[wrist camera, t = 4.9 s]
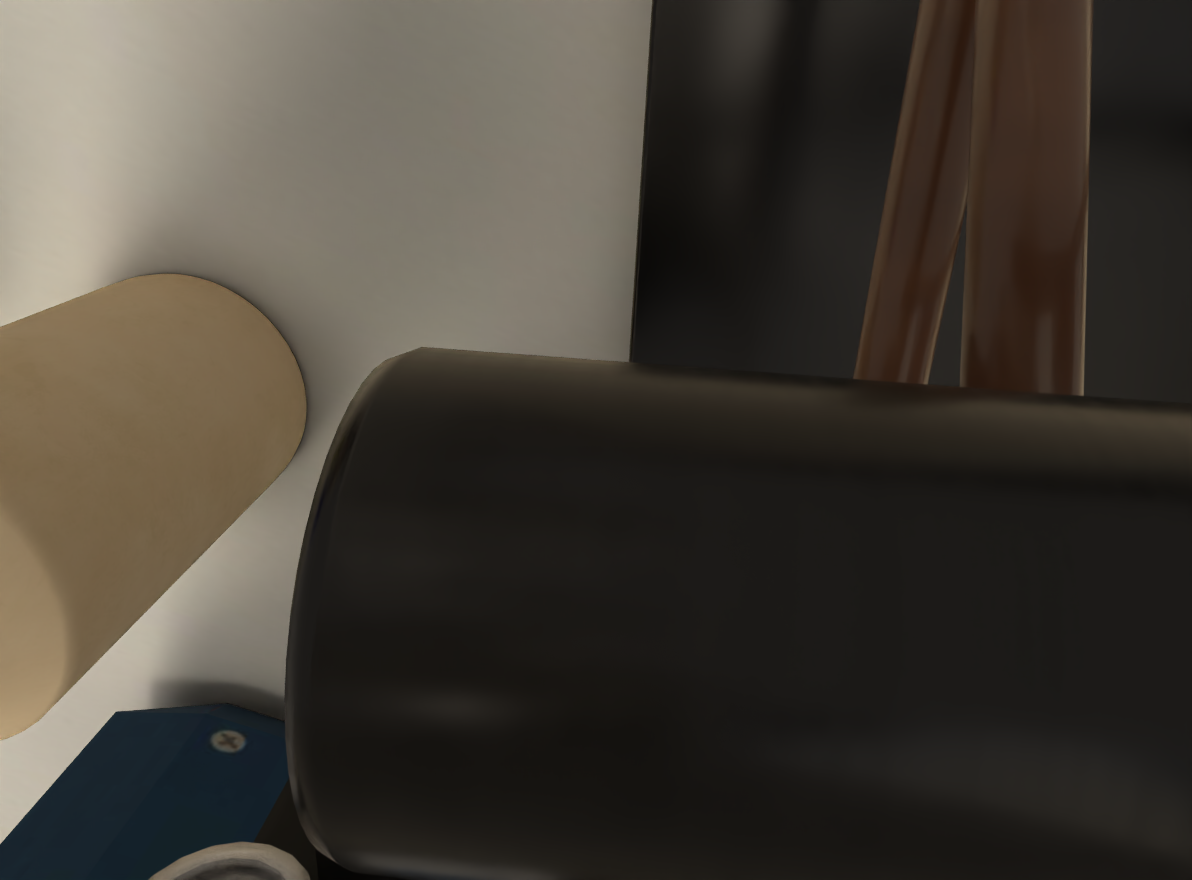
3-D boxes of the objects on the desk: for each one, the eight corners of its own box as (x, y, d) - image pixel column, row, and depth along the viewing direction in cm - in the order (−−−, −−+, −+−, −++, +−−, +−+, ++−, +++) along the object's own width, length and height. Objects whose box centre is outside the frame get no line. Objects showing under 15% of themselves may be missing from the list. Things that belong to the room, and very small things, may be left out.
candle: (352, 364, 19) (52, 636, 10) (250, 533, 21) (-74, 884, 12) (130, 218, 18) (-416, 371, 9) (47, 410, 20) (-466, 688, 11)
